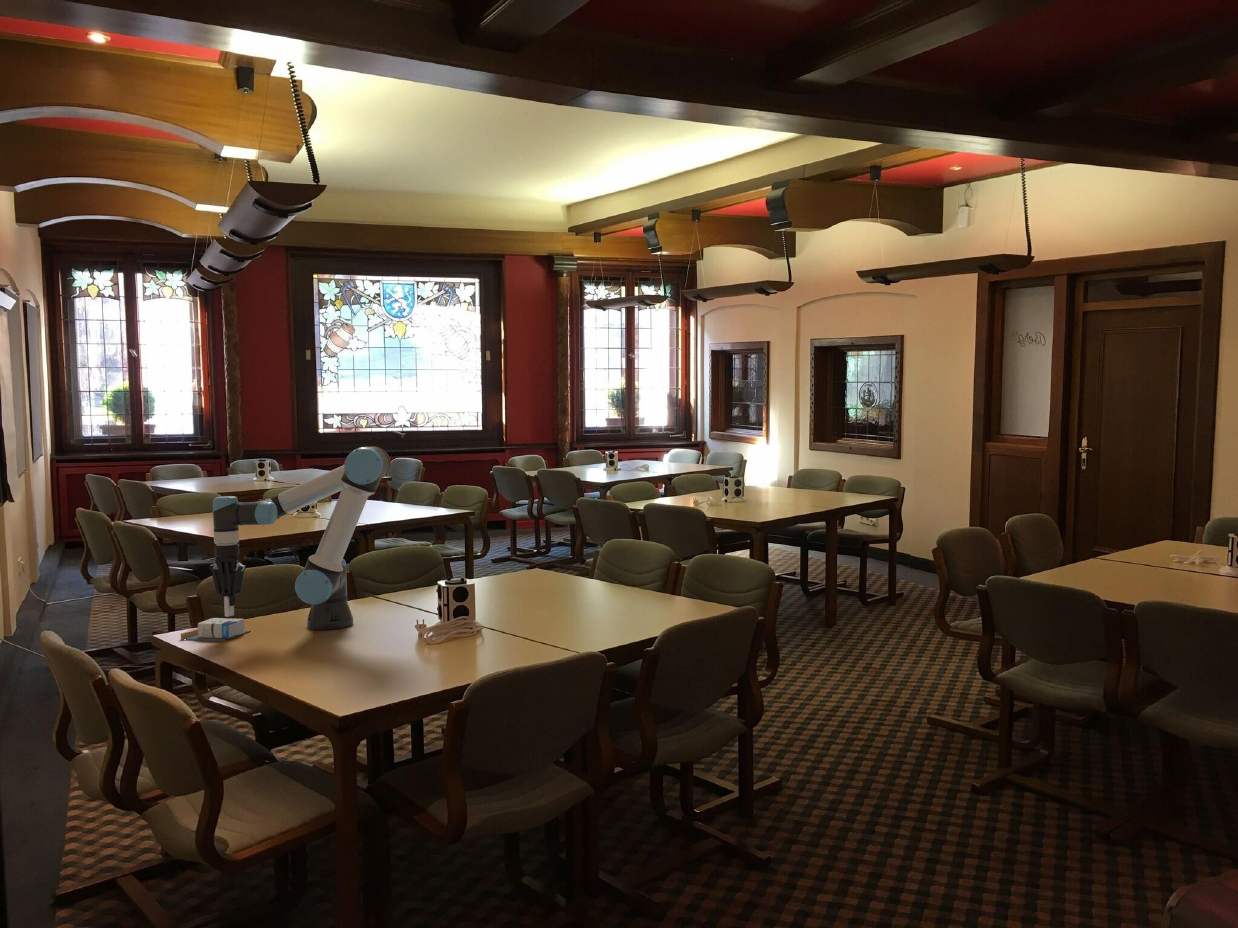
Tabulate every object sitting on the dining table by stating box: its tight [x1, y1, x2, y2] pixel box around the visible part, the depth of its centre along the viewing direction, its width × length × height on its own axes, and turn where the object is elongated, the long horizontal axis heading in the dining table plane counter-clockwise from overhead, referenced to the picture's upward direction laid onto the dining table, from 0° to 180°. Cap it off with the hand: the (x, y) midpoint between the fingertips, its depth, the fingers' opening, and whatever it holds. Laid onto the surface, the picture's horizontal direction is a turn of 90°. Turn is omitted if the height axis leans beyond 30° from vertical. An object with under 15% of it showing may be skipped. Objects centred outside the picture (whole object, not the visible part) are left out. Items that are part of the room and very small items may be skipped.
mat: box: [180, 628, 252, 643], centre depth 312 cm, size 15×15×2 cm
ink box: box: [197, 617, 246, 639], centre depth 310 cm, size 9×5×12 cm
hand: (229, 615), depth 310 cm, fingers closed
